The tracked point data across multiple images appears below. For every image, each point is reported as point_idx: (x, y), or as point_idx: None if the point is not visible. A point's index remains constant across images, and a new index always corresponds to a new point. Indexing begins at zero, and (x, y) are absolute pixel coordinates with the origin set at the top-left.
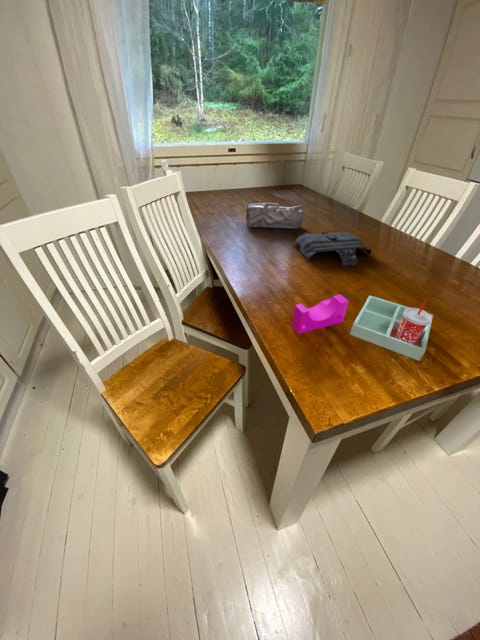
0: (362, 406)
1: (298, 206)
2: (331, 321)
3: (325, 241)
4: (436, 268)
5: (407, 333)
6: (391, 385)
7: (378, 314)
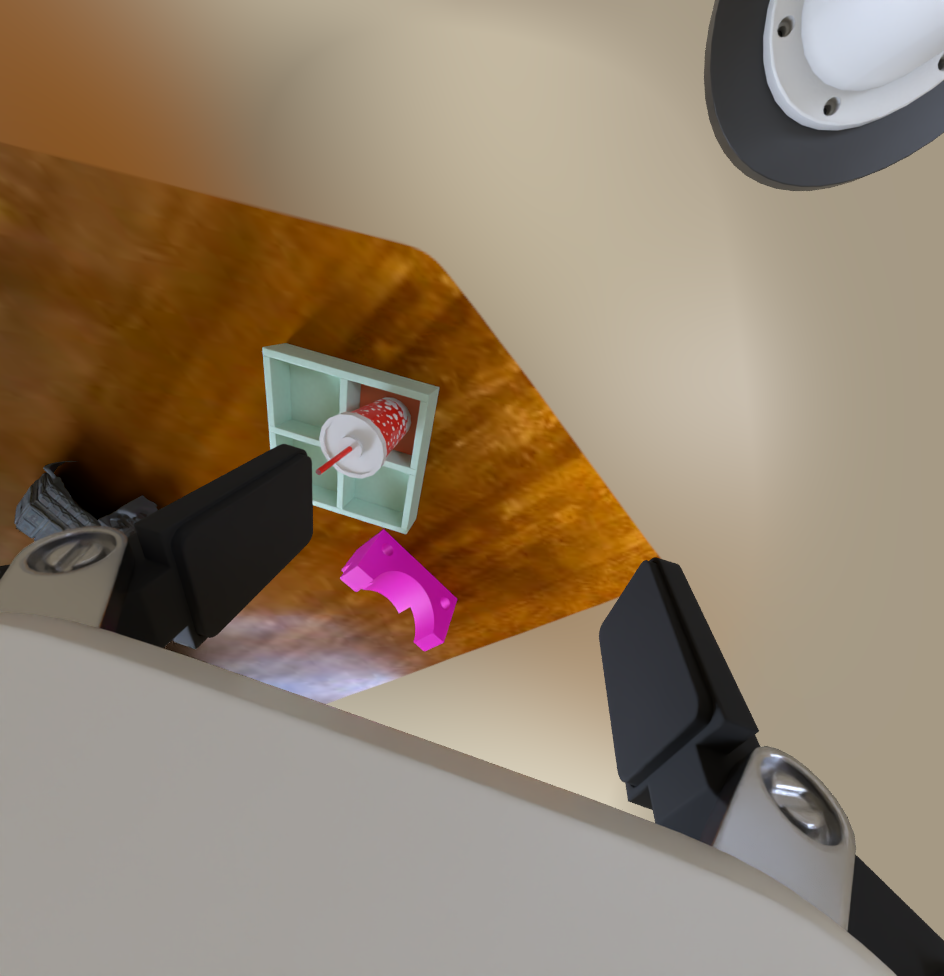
0: (607, 509)
1: None
2: (401, 556)
3: None
4: None
5: (396, 441)
6: (537, 454)
7: (340, 481)
